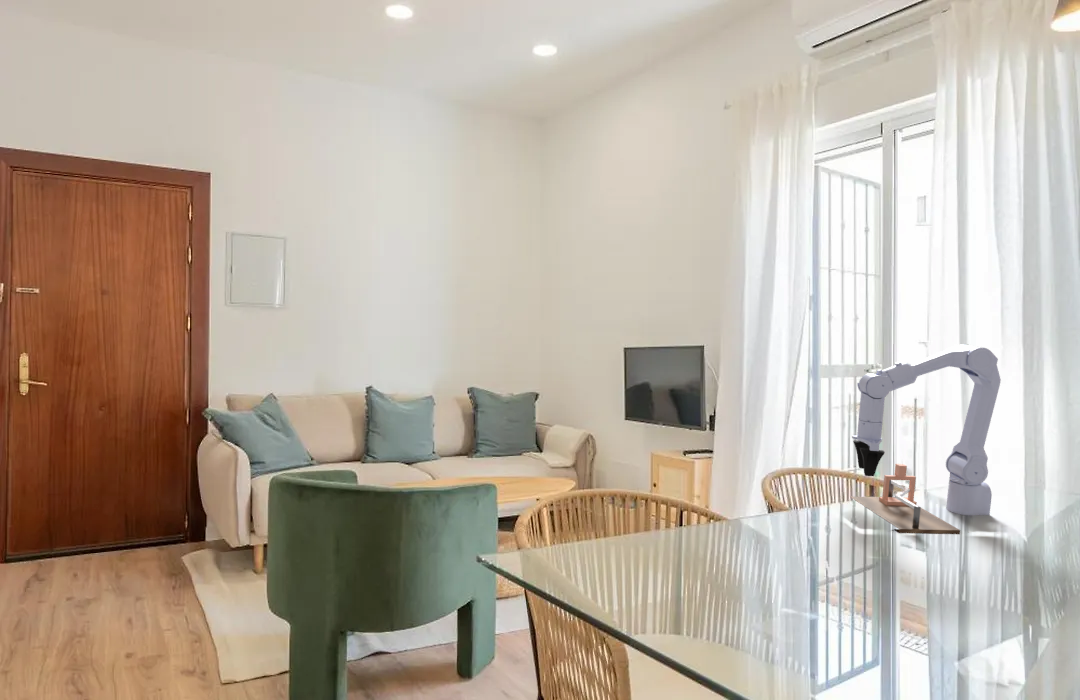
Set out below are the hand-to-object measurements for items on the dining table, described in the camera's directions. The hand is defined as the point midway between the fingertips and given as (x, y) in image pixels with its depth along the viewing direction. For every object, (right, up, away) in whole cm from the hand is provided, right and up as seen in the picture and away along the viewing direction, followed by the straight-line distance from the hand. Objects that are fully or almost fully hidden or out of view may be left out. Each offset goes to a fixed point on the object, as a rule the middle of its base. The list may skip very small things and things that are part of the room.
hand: (866, 471), depth 194 cm
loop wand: (+10, -9, +4) cm, 14 cm away
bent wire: (+7, -11, -4) cm, 13 cm away
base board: (+7, -11, -4) cm, 13 cm away
